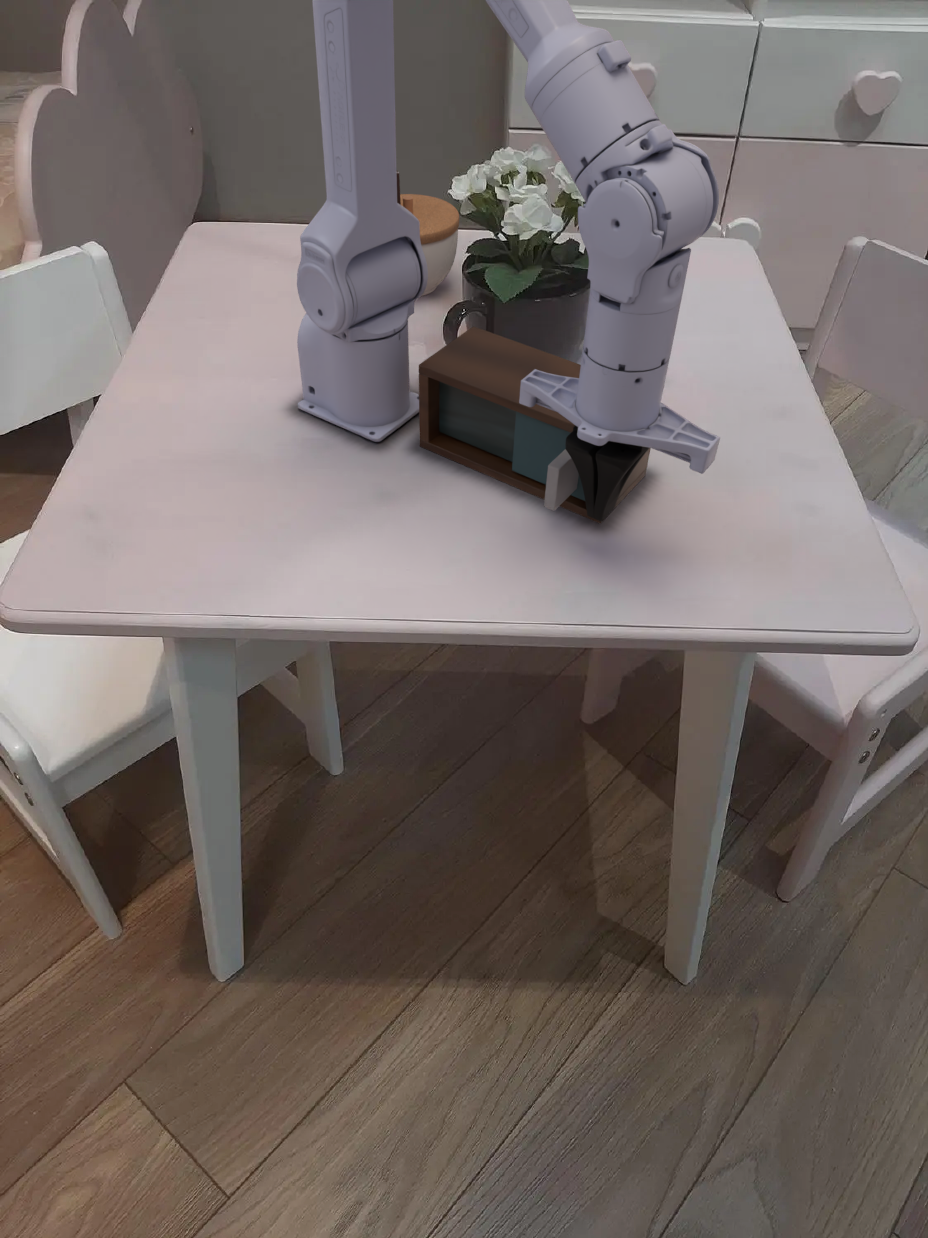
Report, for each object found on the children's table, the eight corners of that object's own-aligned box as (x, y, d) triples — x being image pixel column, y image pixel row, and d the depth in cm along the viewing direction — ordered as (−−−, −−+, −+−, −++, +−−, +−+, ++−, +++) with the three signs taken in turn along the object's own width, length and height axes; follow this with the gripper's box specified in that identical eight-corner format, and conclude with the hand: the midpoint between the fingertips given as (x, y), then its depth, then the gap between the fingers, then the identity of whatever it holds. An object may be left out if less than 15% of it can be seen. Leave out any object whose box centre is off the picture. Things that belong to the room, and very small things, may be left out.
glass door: (570, 528, 73) (578, 467, 69) (487, 492, 76) (491, 431, 72) (594, 502, 75) (604, 442, 71) (513, 468, 78) (518, 408, 74)
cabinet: (600, 524, 75) (614, 440, 69) (419, 446, 82) (418, 364, 76) (645, 475, 80) (662, 393, 74) (470, 405, 87) (473, 325, 81)
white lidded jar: (469, 270, 106) (471, 184, 99) (442, 314, 99) (442, 224, 92) (379, 257, 108) (375, 172, 101) (346, 299, 100) (340, 210, 94)
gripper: (500, 340, 62) (491, 503, 71) (703, 413, 56) (664, 579, 66) (554, 300, 66) (539, 459, 76) (748, 364, 60) (705, 527, 70)
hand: (600, 512), depth 71 cm, fingers closed
